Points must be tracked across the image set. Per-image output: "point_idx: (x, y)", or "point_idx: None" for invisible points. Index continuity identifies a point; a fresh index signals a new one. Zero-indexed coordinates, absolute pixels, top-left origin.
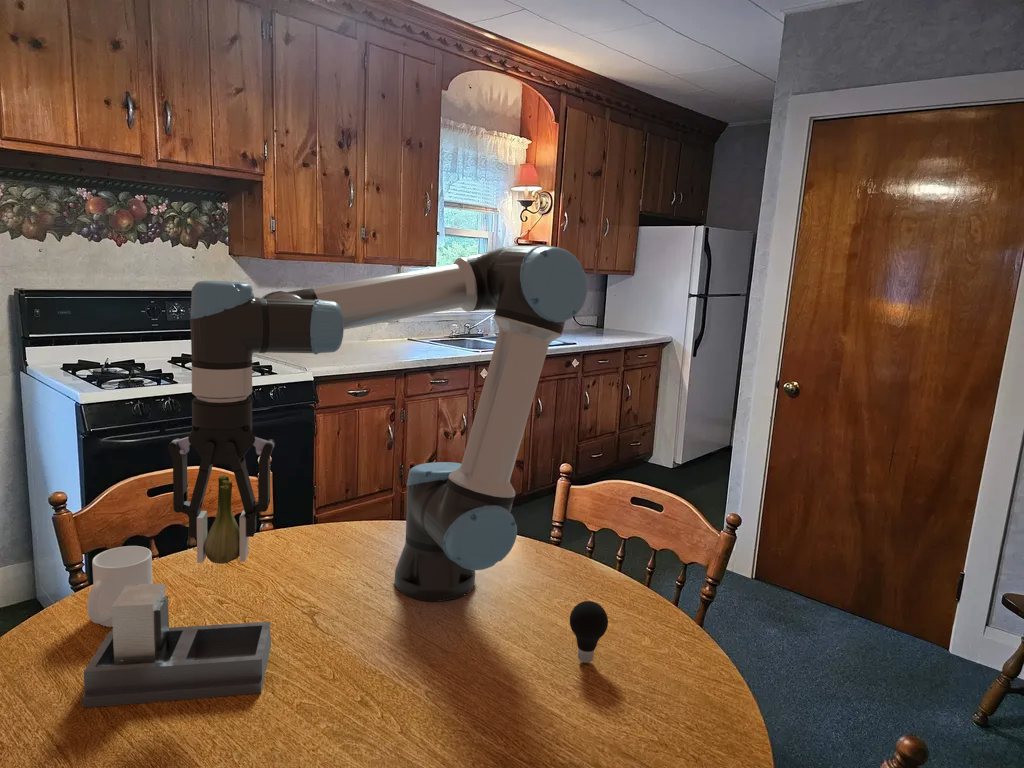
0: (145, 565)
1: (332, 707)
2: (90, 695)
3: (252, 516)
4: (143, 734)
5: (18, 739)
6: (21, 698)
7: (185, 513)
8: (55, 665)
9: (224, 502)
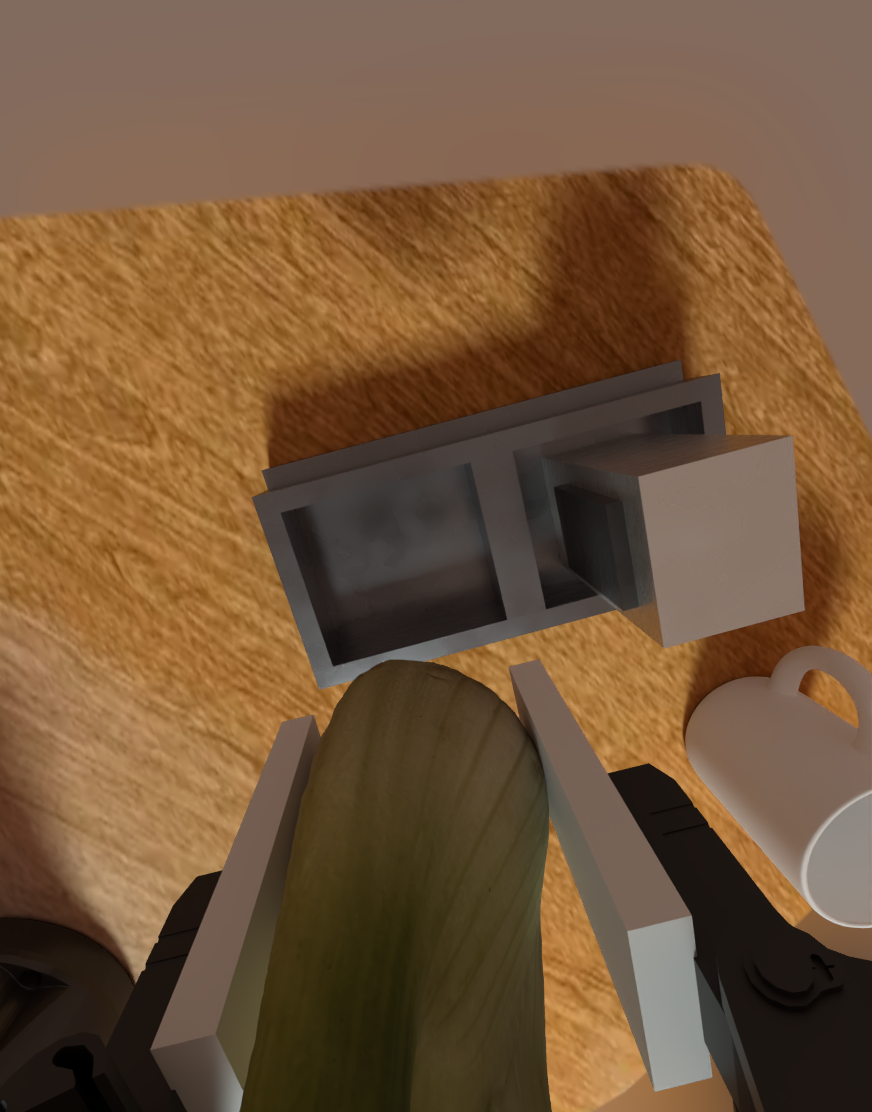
0: (791, 834)
1: (58, 432)
2: (664, 369)
3: (8, 1078)
4: (478, 278)
5: (748, 234)
6: (815, 384)
7: (860, 962)
8: (802, 516)
9: None
